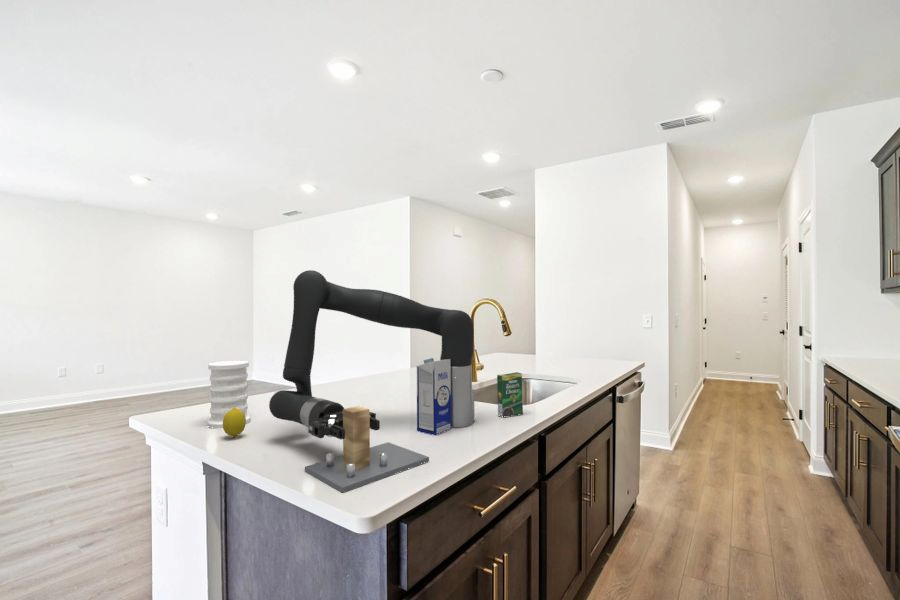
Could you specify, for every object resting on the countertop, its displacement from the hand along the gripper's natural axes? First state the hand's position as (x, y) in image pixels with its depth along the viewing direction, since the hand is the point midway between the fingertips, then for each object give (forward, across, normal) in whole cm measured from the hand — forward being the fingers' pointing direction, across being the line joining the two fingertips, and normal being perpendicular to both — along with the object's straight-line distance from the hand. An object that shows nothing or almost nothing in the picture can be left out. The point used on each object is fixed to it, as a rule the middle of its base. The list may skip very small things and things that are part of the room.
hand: (361, 429), depth 91 cm
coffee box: (-5, +58, +9) cm, 59 cm away
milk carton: (-11, +31, +9) cm, 34 cm away
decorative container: (-61, -6, +9) cm, 62 cm away
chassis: (-2, +3, +9) cm, 10 cm away
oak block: (-2, 0, +8) cm, 8 cm away
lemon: (-45, -10, +9) cm, 47 cm away
